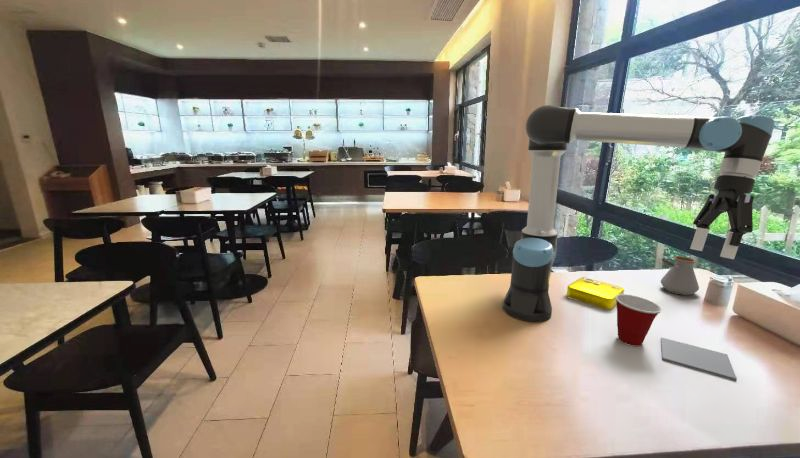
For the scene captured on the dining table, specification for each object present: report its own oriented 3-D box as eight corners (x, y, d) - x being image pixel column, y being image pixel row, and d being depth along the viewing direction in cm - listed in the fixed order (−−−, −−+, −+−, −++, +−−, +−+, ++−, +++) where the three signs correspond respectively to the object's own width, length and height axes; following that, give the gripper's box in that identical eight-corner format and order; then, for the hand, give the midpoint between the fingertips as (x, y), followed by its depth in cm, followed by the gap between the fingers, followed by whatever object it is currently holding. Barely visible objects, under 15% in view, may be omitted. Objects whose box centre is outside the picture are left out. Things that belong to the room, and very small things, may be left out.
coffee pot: (669, 283, 140) (677, 247, 136) (703, 294, 130) (713, 256, 126) (637, 292, 131) (644, 254, 127) (671, 305, 121) (680, 264, 117)
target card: (662, 359, 89) (662, 357, 89) (660, 339, 99) (661, 337, 99) (736, 380, 82) (736, 378, 82) (726, 356, 91) (727, 354, 91)
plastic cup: (662, 354, 92) (671, 312, 89) (617, 348, 94) (624, 308, 91) (643, 333, 102) (650, 295, 99) (602, 328, 104) (609, 291, 101)
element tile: (564, 297, 127) (566, 284, 126) (580, 286, 137) (582, 275, 136) (609, 311, 116) (612, 298, 115) (624, 299, 126) (626, 286, 125)
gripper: (793, 177, 80) (761, 265, 83) (722, 181, 104) (699, 250, 107) (754, 170, 81) (724, 258, 84) (693, 176, 105) (671, 244, 108)
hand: (710, 253), depth 95 cm, fingers open, 13 cm apart
